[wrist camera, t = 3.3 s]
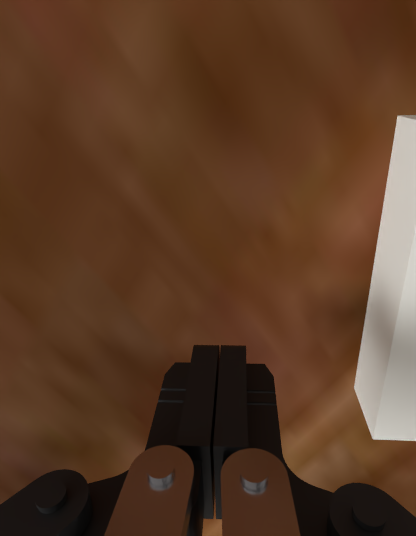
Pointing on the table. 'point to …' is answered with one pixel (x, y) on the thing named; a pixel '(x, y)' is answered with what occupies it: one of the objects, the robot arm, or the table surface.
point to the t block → (393, 303)
